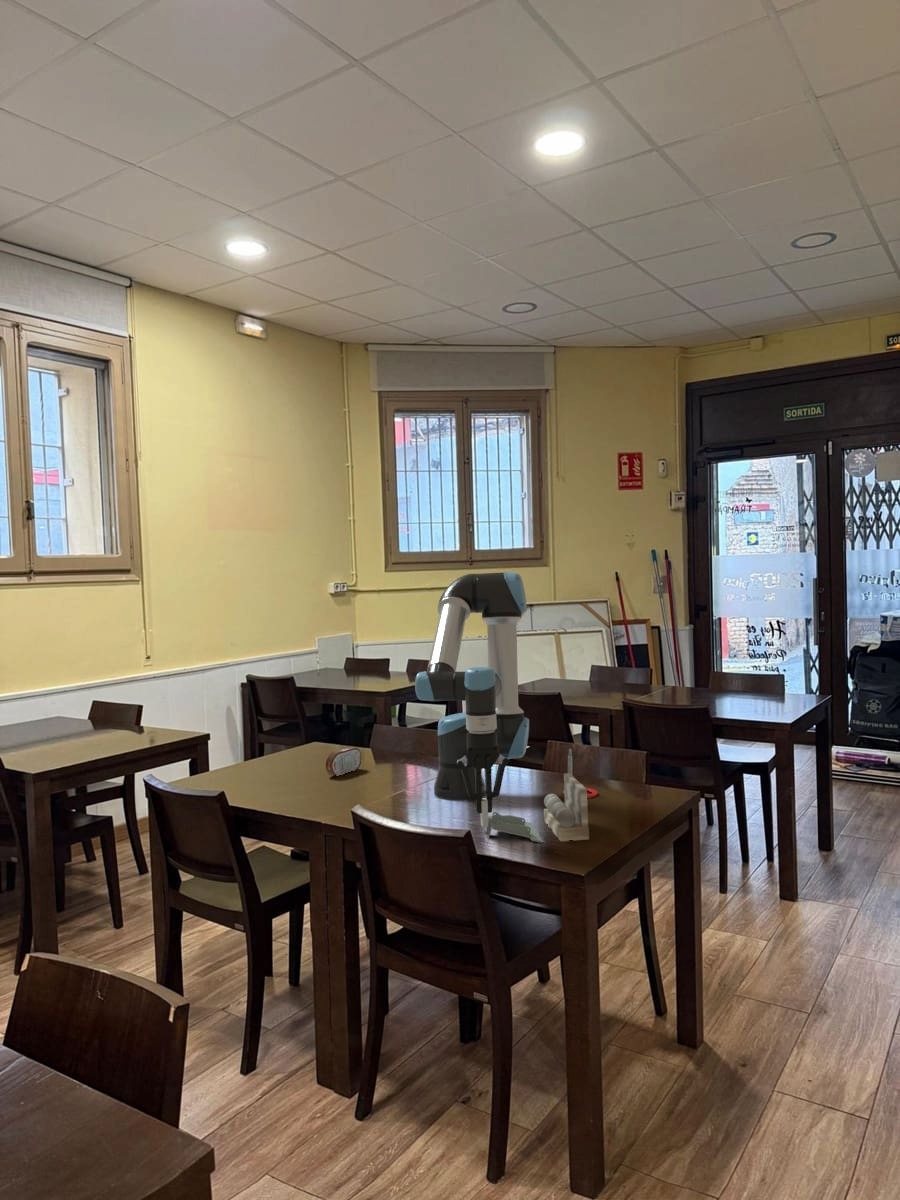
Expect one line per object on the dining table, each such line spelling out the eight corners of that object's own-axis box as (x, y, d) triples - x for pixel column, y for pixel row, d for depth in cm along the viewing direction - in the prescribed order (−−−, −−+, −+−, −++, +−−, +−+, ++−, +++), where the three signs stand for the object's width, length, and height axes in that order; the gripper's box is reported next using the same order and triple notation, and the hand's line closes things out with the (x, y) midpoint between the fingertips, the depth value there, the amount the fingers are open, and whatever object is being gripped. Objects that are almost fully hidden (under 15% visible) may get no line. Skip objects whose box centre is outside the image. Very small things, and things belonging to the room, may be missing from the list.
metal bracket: (492, 823, 194) (484, 805, 209) (486, 847, 194) (478, 827, 209) (550, 836, 196) (538, 817, 211) (544, 860, 196) (532, 839, 211)
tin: (356, 768, 278) (355, 743, 278) (363, 769, 276) (362, 744, 276) (325, 778, 266) (324, 752, 266) (332, 779, 264) (331, 753, 264)
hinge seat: (544, 820, 213) (542, 774, 213) (570, 818, 214) (569, 772, 214) (560, 841, 196) (558, 791, 196) (589, 839, 197) (587, 789, 197)
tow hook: (602, 795, 237) (575, 789, 243) (603, 751, 236) (575, 746, 242) (587, 802, 230) (559, 795, 236) (588, 756, 229) (559, 751, 235)
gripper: (457, 735, 197) (460, 832, 198) (510, 732, 199) (513, 828, 200) (453, 729, 205) (456, 823, 206) (504, 726, 206) (507, 819, 207)
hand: (484, 825), depth 203 cm, fingers closed
